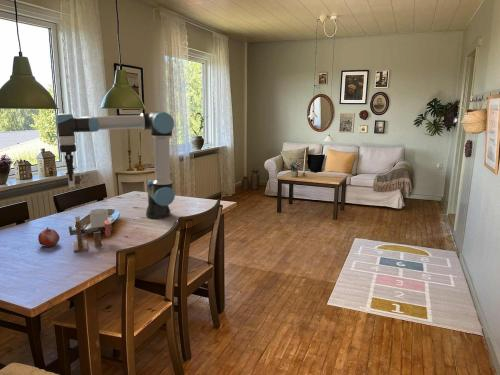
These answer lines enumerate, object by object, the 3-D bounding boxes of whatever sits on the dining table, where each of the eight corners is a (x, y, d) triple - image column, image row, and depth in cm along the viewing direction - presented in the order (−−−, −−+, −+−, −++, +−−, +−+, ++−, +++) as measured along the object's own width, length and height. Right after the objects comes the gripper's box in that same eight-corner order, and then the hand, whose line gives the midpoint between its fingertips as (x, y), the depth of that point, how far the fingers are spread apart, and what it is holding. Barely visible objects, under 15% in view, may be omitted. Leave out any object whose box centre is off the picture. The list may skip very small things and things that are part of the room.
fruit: (44, 242, 187) (41, 223, 185) (63, 242, 188) (61, 223, 186) (34, 249, 179) (32, 229, 176) (55, 248, 179) (52, 229, 177)
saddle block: (100, 242, 187) (99, 230, 186) (101, 246, 183) (100, 233, 181) (94, 243, 186) (93, 231, 185) (95, 246, 182) (94, 234, 180)
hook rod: (111, 231, 189) (110, 219, 188) (113, 235, 183) (111, 223, 182) (70, 237, 181) (68, 224, 180) (70, 241, 175) (68, 228, 174)
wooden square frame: (86, 242, 188) (84, 215, 184) (87, 250, 177) (84, 221, 174) (73, 244, 185) (70, 216, 182) (73, 252, 174) (70, 223, 171)
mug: (102, 233, 201) (100, 213, 198) (88, 232, 203) (86, 212, 200) (114, 226, 212) (113, 207, 210) (100, 225, 214) (99, 206, 212)
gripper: (60, 142, 200) (64, 180, 204) (58, 147, 178) (63, 189, 182) (75, 141, 203) (79, 179, 208) (75, 146, 181) (79, 188, 185)
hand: (72, 184), depth 195 cm, fingers open, 13 cm apart
